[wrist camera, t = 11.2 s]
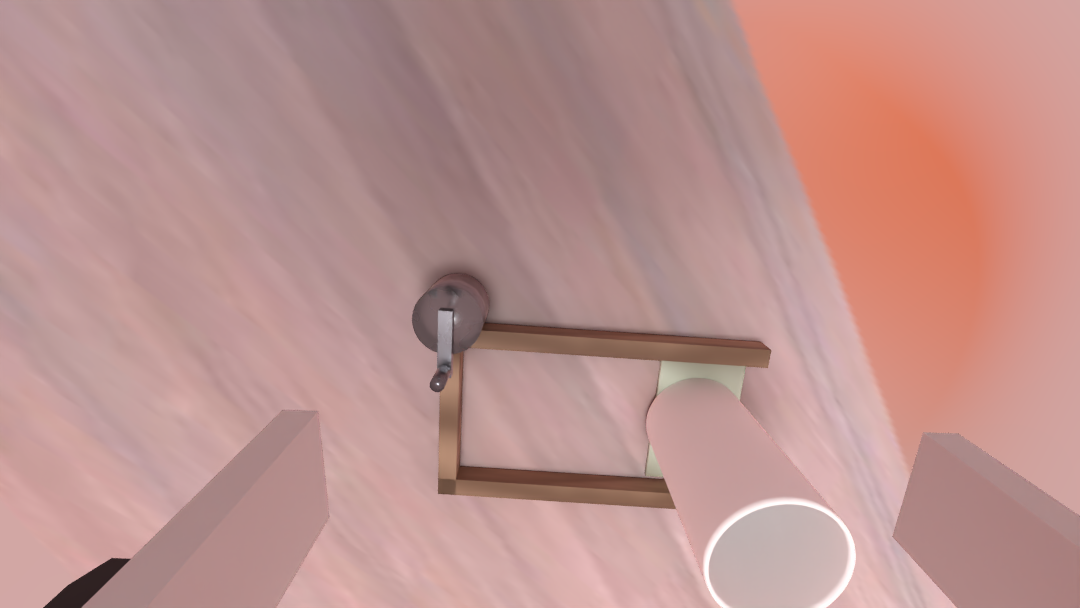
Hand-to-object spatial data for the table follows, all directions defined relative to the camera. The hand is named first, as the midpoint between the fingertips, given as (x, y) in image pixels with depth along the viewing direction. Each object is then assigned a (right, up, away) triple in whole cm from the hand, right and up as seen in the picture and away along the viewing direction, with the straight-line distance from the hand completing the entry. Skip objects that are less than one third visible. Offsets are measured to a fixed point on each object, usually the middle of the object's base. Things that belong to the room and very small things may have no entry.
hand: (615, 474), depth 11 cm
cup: (+11, -6, +32) cm, 34 cm away
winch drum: (-8, +4, +29) cm, 31 cm away
